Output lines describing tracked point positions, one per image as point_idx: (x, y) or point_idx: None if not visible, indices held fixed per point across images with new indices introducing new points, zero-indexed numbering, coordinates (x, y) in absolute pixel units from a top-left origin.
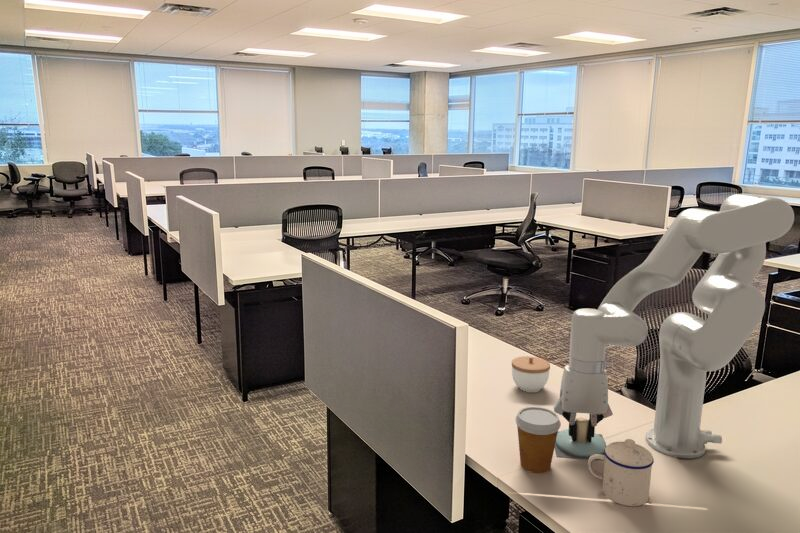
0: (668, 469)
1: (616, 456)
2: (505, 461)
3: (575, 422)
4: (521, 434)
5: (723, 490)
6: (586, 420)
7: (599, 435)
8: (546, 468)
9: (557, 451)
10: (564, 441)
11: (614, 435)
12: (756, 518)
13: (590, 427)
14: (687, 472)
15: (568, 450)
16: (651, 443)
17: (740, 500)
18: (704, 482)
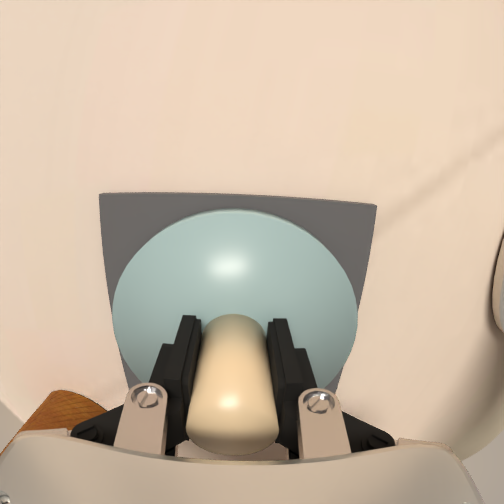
0: (457, 386)
1: None
2: (17, 389)
3: (183, 438)
4: None
5: (484, 415)
6: (263, 434)
7: (362, 218)
8: None
9: (132, 372)
10: (151, 355)
11: (429, 194)
12: (463, 455)
13: (276, 440)
14: (481, 383)
15: None
16: (501, 294)
17: (482, 428)
18: (479, 405)
